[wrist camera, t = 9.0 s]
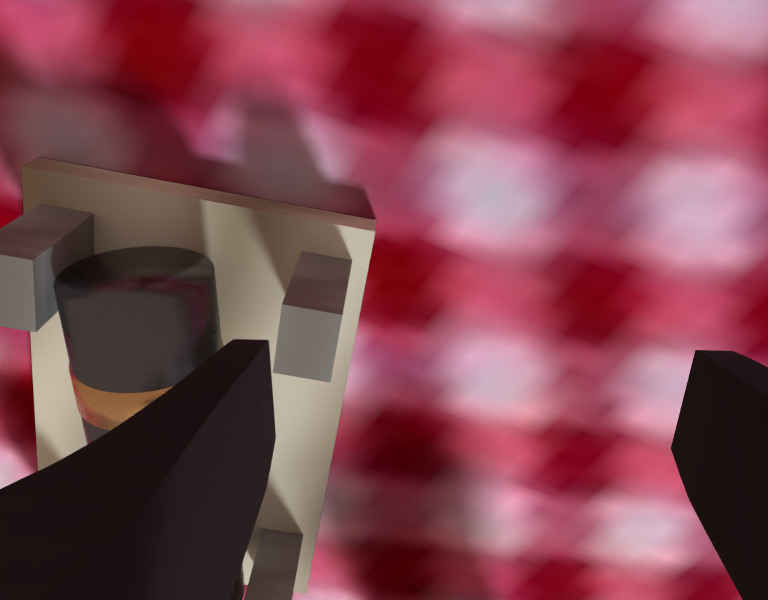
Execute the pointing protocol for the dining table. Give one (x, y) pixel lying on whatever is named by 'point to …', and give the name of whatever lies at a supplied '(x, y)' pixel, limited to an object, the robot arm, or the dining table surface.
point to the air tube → (136, 331)
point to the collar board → (236, 314)
